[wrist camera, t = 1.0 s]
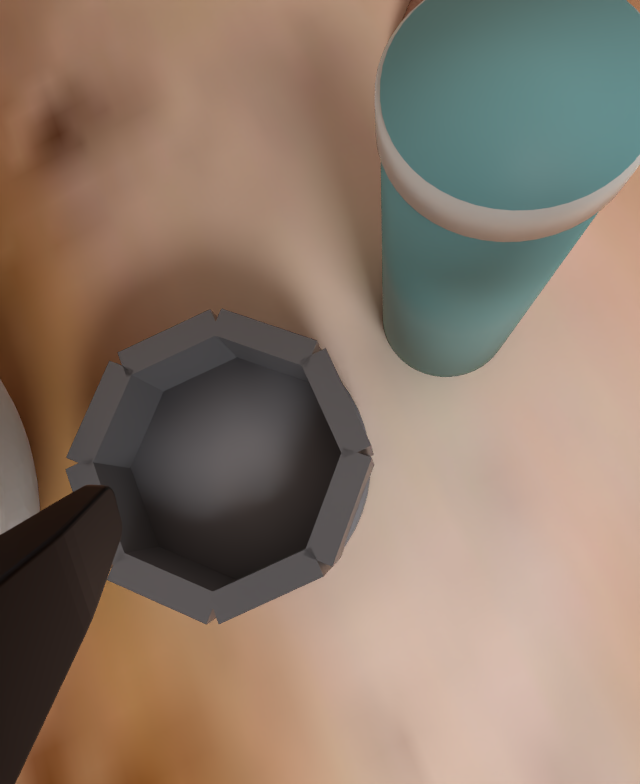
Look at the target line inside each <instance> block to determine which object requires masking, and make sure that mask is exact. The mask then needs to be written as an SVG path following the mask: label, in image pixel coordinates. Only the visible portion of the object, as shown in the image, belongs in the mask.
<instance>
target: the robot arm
mask: <svg viewBox="0 0 640 784" xmlns="http://www.w3.org/2000/svg"><path fill="white" fill-rule="evenodd" d="M122 529H123V527H122V520H121V516H120V512H119V508H118V504H117V500H116V497H115V493H114V490H113V489H112V488H111V487H110V486H108V485H85V486H83V487H81V488H79V489H78V490H76V491H74V492H73V493H71V494H69V495H67V496H66V497H64V498H62V499H61V500H59V501H57V502H55V503H54V504H52V505H50V506H49V507H47V508H45V509H43V510H42V511H40V512H38V513H37V514H35V515H33V516H31V517H30V518H28V519H26V520H25V521H23V522H21V523H19V524H18V525H16V526H14V527H13V528H11V529H9V530H7V531H6V532H4V533H2V534H1V535H0V784H15V783H16V780H17V778H18V776H19V774H20V772H21V770H22V768H23V766H24V764H25V761H26V759H27V757H28V755H29V753H30V751H31V749H32V747H33V745H34V742H35V740H36V738H37V736H38V734H39V732H40V730H41V728H42V726H43V723H44V721H45V719H46V717H47V715H48V713H49V711H50V709H51V706H52V704H53V702H54V700H55V698H56V696H57V694H58V692H59V690H60V687H61V685H62V683H63V681H64V679H65V677H66V675H67V673H68V671H69V668H70V666H71V664H72V662H73V660H74V658H75V656H76V654H77V652H78V649H79V647H80V645H81V643H82V641H83V639H84V637H85V635H86V632H87V630H88V628H89V626H90V623H91V621H92V619H93V616H94V613H95V611H96V608H97V606H98V603H99V600H100V597H101V594H102V591H103V588H104V585H105V583H106V580H107V577H108V574H109V571H110V568H111V565H112V562H113V560H114V557H115V554H116V551H117V548H118V545H119V542H120V540H121V536H122Z"/></svg>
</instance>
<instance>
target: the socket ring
mask: <svg viewBox="0 0 640 784" xmlns="http://www.w3.org/2000/svg"><path fill="white" fill-rule="evenodd" d="M118 356H119V358H120V361H121V364H122V365H119V364H117V363H114V362H111V361H109V363H108V365H107V367H106V370H105V372H104V374H103V376H102V379H101V381H100V383H99V385H98V387H97V390H96V392H95V394H94V396H93V399H92V401H91V403H90V405H89V408H88V410H87V412H86V414H85V417H84V419H83V421H82V423H81V426H80V428H79V430H78V432H77V434H76V437H75V439H74V441H73V443H72V446H71V448H70V450H69V452H68V455H67V457H66V458H68V459H71V460H73V461H76V462H78V464H76V465H74V466H72V467H69V468H67V469H65V470H66V473H67V476H68V479H69V482H70V485H71V488H72V491H73V492H74V491H76V490H78V489H79V488H81V487H83V486H85V485H108V486H110V487H111V488H112V489H113V490H114V493H115V497H116V500H117V504H118V508H119V512H120V516H121V520H122V527H123V529H122V536H121V540H120V542H119V545H118V548H117V551H116V554H115V557H114V560H113V562H112V565H111V568H112V569H111V571H110V574H109V576H108V578H107V580H108V581H111V582H113V583H115V584H117V585H120V586H122V587H124V588H126V589H129V590H131V591H133V592H135V593H137V594H140V595H142V596H144V597H146V598H149V599H151V600H153V601H155V602H158V603H160V604H162V605H164V606H167V607H169V608H171V609H173V610H175V611H178V612H180V613H182V614H184V615H187V616H189V617H191V618H193V619H196V620H198V621H200V622H202V623H205V624H208V623H209V622H211V621H212V620H214V619H215V618H217V621H218V623H219V624H221V623H223V622H225V621H227V620H229V619H231V618H234V617H236V616H238V615H240V614H242V613H245V612H247V611H249V610H251V609H253V608H256V607H258V606H260V605H262V604H264V603H266V602H269V601H271V600H273V599H275V598H277V597H280V596H282V595H284V594H287V593H289V592H291V591H293V590H295V589H297V588H299V587H302V586H304V585H306V584H308V583H310V582H312V581H315V580H317V579H319V578H321V577H323V576H324V575H325V574H326V573H327V572H328V571H329V570H330V569H331V567H333V566H334V564H335V563H336V562H337V561H338V560H339V559H340V558H341V555H342V552H343V550H344V547H345V545H346V544H347V542H348V540H349V539H350V537H351V535H352V534H353V532H354V530H355V529H356V526H357V524H358V522H359V519H360V517H361V515H362V512H363V509H364V505H365V502H366V498H367V495H368V488H369V481H370V475H371V472H372V469H373V466H374V464H373V460H372V458H371V457H370V456H372V455H373V451H372V446H371V444H370V442H369V439H368V437H367V435H366V431H365V427H364V424H363V421H362V419H361V416H360V413H359V411H358V408H357V407H356V405H355V403H354V401H353V399H352V398H351V396H350V394H349V392H348V391H347V390H346V388H345V387H344V386H343V384H342V382H341V380H340V378H339V376H338V374H337V371H336V369H335V367H334V365H333V363H332V361H331V359H330V357H329V354H328V352H327V350H326V348H325V349H323V350H321V349H320V347H319V344H318V342H317V341H316V340H313V339H310V338H307V337H304V336H302V335H299V334H296V333H293V332H290V331H287V330H284V329H281V328H278V327H275V326H272V325H269V324H266V323H263V322H260V321H257V320H254V319H251V318H248V317H245V316H242V315H239V314H236V313H233V312H230V311H227V310H224V309H221V310H220V313H219V315H218V317H217V316H216V315H215V314H214V313H213V312H212V311H211V310H207V311H205V312H203V313H201V314H199V315H197V316H195V317H192V318H190V319H188V320H186V321H184V322H182V323H180V324H178V325H175V326H173V327H171V328H169V329H167V330H165V331H163V332H160V333H158V334H156V335H154V336H152V337H150V338H148V339H146V340H143V341H141V342H139V343H137V344H135V345H133V346H131V347H128V348H126V349H124V350H122V351H120V352H118Z"/></svg>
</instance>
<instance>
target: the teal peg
mask: <svg viewBox="0 0 640 784" xmlns="http://www.w3.org/2000/svg"><path fill="white" fill-rule="evenodd" d="M375 132H376V141H377V149H378V153H379V156H380V160H381V212H382V287H383V325H384V331H385V334H386V337H387V340H388V342H389V344H390V346H391V347H392V349H393V350H394V352H395V353H396V354H397V355H398V357H399V358H401V359H402V360H403V361H404V362H405V363H406V364H408V365H409V366H410V367H412V368H414V369H416V370H418V371H420V372H423V373H425V374H429V375H433V376H440V377H452V376H459V375H463V374H467V373H470V372H472V371H474V370H476V369H478V368H480V367H482V366H483V365H484V364H486V363H487V362H488V361H489V360H490V359H491V358H493V357H494V355H495V354H496V353H497V352H498V350H499V349H500V348H501V346H502V345H503V343H504V342H505V341H506V339H507V338H508V337H509V335H510V334H511V332H512V331H513V330H514V328H515V327H516V325H517V324H518V323H519V321H520V320H521V319H522V317H523V316H524V314H525V313H526V312H527V310H528V309H529V307H530V306H531V305H532V303H533V302H534V301H535V299H536V298H537V296H538V295H539V294H540V292H541V291H542V289H543V288H544V287H545V285H546V284H547V283H548V281H549V280H550V278H551V277H552V276H553V274H554V273H555V271H556V270H557V269H558V267H559V266H560V265H561V263H562V262H563V260H564V259H565V258H566V256H567V255H568V253H569V252H570V251H571V249H572V248H573V247H574V245H575V244H576V242H577V241H578V240H579V238H580V237H581V235H582V234H583V233H584V231H585V230H586V229H587V227H588V226H589V224H590V223H591V222H592V220H593V219H594V217H595V216H596V215H597V213H598V212H599V211H600V210H602V209H603V208H604V207H605V206H606V205H607V204H608V203H609V202H610V201H611V200H612V199H613V198H614V197H615V196H616V195H617V194H618V192H619V191H620V190H621V189H622V187H623V186H624V185H625V184H626V182H627V181H628V180H629V178H630V177H631V176H632V174H633V173H634V172H635V170H636V169H637V168H638V166H639V165H640V13H639V12H638V11H637V10H636V9H635V8H634V7H633V6H632V5H631V4H630V3H629V2H627V1H626V0H423V1H422V2H421V3H420V4H418V5H417V6H416V7H415V8H414V9H413V10H412V11H411V12H410V13H409V14H408V15H407V16H406V17H405V18H404V20H403V21H402V22H401V23H400V24H399V25H398V27H397V28H396V30H395V31H394V33H393V34H392V36H391V37H390V39H389V41H388V43H387V45H386V47H385V49H384V51H383V53H382V57H381V60H380V63H379V66H378V69H377V75H376V81H375Z"/></svg>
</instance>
